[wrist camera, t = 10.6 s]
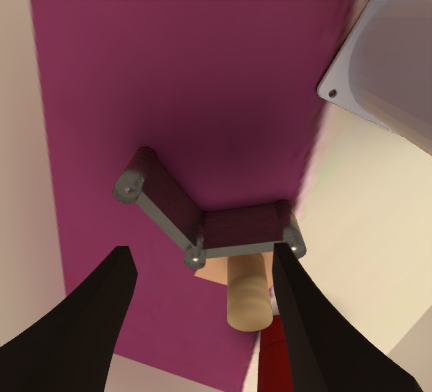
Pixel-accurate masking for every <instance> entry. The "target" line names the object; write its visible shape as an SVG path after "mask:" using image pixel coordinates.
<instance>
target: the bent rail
mask: <svg viewBox="0 0 432 392" xmlns="http://www.w3.org/2000/svg"><path fill="white" fill-rule="evenodd" d="M112 192H113V195H114V197H115V198H116V199H117V200H118V201H119V202H121V203H124V204H132V203H134V202H135V203H136V204H137V205H138V206H139V207H140V208H141V209H142V210H143V211H144V212H145V213H146V214H147V215H148V216H149V217H150V218H151V219H152V220H153V221H154V222H155V223H156V224H157V225H158V226H159V227H160V228H161V229H162V230H163V231H164V232H165V233H166V234H167V235H168V236H169V237H170V238H171V239H172V240H173V241H174V242H175V243H176V244H177V245H178V246H179V247H180V248H181V249H182V250H183V251H184V252H185V258H184V264H185V266H186V267H188V268H190V269H193V270H198V269H202V268H203V267H204V266H205V264H206V259H210V258H219V257H228V256H237V255H246V254H255V253H265V252H273V248H274V243H288V244H289V246H290V247H291V249H292V251H293V253H294V254H295V256H296V258H297V259H299V258H301V257H303V256H304V255H305V254H306V247H305V244H304V241H303V238H302V235H301V232H300V229H299V226H298V223H297V220H296V217H295V214H294V211H293V208H292V205H291V203H290V202H289V201H287V200H279V201H277V202H276V203H275V204H268V205H261V206H253V207H246V208H238V209H231V210H223V211H216V212H209V213H206V212H204V211H201V210H200V209H199V208H198V207H197V206H196V204H195V203H194V202H193V201H192V200H191V199H190V197H189V196H188V195H187V194H186V193H185V192H184V190H183V189H182V188H181V187H180V186H179V185H178V183H177V182H176V181H175V180H174V179H173V178H172V176H171V175H170V174H169V173H168V172H167V171H166V169H165V168H164V167H163V166H162V165H161V164H160V162H159V161H158V160H157V155H156V153H155V151H154V150H153V149H151V148H149V147H142V148H140V149H138V151H137V152H136V154H135V155H134V157H133V158H132V160H131V161H130V163H129V164H128V166H127V167H126V169H125V170H124V172H123V173H122V175H121V176H120V178H119V179H118V181H117V182H116V184H115V185H114V187H113V190H112Z"/></svg>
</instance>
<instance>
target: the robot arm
mask: <svg viewBox="0 0 432 392" xmlns="http://www.w3.org/2000/svg"><path fill="white" fill-rule="evenodd" d="M333 89H335V94H334V95H333V96H329V92H330V91H331V90H333ZM317 94H318V95H319V96H320V97H321V98H323V99H325V100H327V101H329V102H331V103H334V104H336V105H338V106H340V107H342V108H344V109H346V110H348V111H350V112H352V113H354V114H356V115H359V116H361V117H363V118H365V119H367V120H369V121H371V122H373V123H375V124H377V125H379V126H381V127H384V128H386V129H388V130H390V131H392V132H394V133H396V134H398V135H400V136H402V137H404V138H406V139H407V140H409V141H410V142H412V143H413V144H415V145H416V146H418V147H419V148H421V149H422V150H423V151H425V152H426V153H428V154H429V155H431V156H432V0H370V1H369V2H368V4H367V6H366V7H365V9H364V11H363V12H362V14H361V16H360V17H359V19H358V21H357V22H356V24H355V26H354V27H353V29H352V31H351V32H350V34H349V36H348V37H347V39H346V41H345V42H344V44H343V46H342V47H341V49H340V51H339V52H338V54H337V56H336V57H335V59H334V60H333V62H332V64H331V65H330V67H329V69H328V70H327V72H326V74H325V75H324V77H323V79H322V80H321V82H320V84H319V85H318V88H317ZM137 275H138V272H137V269H136V267H135V264H134V261H133V258H132V255H131V252H130V249H129V246H116V247H115V249H114V250H113V251H112V252H111V253H110V254H109V255H108V256H107V257H106V258H105V259H104V260H103V261H102V262H101V263H100V264H99V265H98V267H97V268H96V269H95V270H94V271H93V272H92V273H91V274H90V275H89V276H88V277H87V278H86V279H85V280H84V281H83V282H82V283H81V284H80V285H79V286H78V287H77V288H76V289H75V290H74V291H73V292H72V293H71V294H69V295H68V296H67V297H66V298H65V299H64V300H63V301H62V302H61V303H59V304H58V305H57V306H56V307H55V308H53V309H52V310H51V311H50V312H49V313H47V314H46V315H45V316H44V317H42V318H41V319H40V320H38V321H37V322H36V323H34V324H33V325H32V326H30V327H29V328H28V329H26V330H25V331H23V332H22V333H21V334H19V335H18V336H17V337H15V338H14V339H12V340H11V341H9V342H7V343H6V344H4V345H3V346H1V347H0V392H104V388H105V384H106V380H107V375H108V371H109V367H110V363H111V359H112V355H113V351H114V348H115V344H116V341H117V338H118V335H119V332H120V329H121V327H122V324H123V321H124V318H125V316H126V313H127V310H128V307H129V304H130V302H131V299H132V296H133V293H134V289H135V285H136V280H137ZM272 278H273V286H274V293H275V297H276V301H277V305H278V310H279V314H280V318H281V322H282V326H283V330H284V334H285V339H286V344H287V350H288V357H289V363H290V370H291V378H292V385H293V392H423V391H422V389H421V387H420V386H419V384H418V383H417V381H416V380H415V378H414V377H413V376H411V375H410V374H409V373H408V372H406V371H405V370H404V369H402V368H401V367H400V366H399V365H397V364H396V363H395V362H393V361H392V360H391V359H390V358H388V357H387V356H386V355H385V354H384V353H382V352H381V351H380V350H379V349H378V348H376V347H375V346H374V345H373V344H372V343H371V342H370V341H368V340H367V339H366V338H365V337H364V336H363V335H362V334H361V333H360V332H359V331H358V330H357V329H355V328H354V327H353V326H352V325H351V324H350V323H349V322H348V321H347V320H346V319H345V318H344V317H343V316H342V315H341V314H340V313H339V312H338V310H337V309H336V308H335V307H334V306H333V305H332V304H331V303H330V302H329V300H328V299H327V298H326V297H325V296H324V295H323V293H322V292H321V291H320V290H319V288H318V287H317V286H316V285H315V283H314V282H313V281H312V279H311V278H310V277H309V275H308V274H307V272H306V271H305V270H304V268H303V267H302V265H301V264H300V262H299V261H298V259H297V258H296V256H295V254H294V253H293V251H292V249H291V247H290V246H289V244H288V243H274V248H273V261H272Z"/></svg>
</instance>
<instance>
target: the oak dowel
mask: <svg viewBox="0 0 432 392" xmlns="http://www.w3.org/2000/svg"><path fill="white" fill-rule="evenodd" d="M227 320H228V323H229V324H230V325H231V326H232V327H233V328H235V329H238V330H241V331H258V330H262V329H264V328H266V327H268V326H269V325H270V324H271V323H272V320H273V316H272V309H271V302H270V296H269V289H268V283H267V276H266V269H265V263H264V258H263V256H262V254H261V253H255V254H246V255H237V256H229V257H228V260H227Z"/></svg>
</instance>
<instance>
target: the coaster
mask: <svg viewBox="0 0 432 392" xmlns="http://www.w3.org/2000/svg"><path fill="white" fill-rule="evenodd" d="M261 254H262V256H263V258H264V263H265V269H266V276H267V283H268V289H269V288H270V287H271V286H272V285H273V278H272V261H273V252H265V253H261ZM228 257H229V256H228ZM228 257H219V258H210V259H206V264H205V266H204V267H203V268H202V269H198V270H195V274H194V276H198V277H201V278H204V279H208V280H211V281H214V282H218V283H221V284H224V285H227V260H228Z"/></svg>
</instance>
